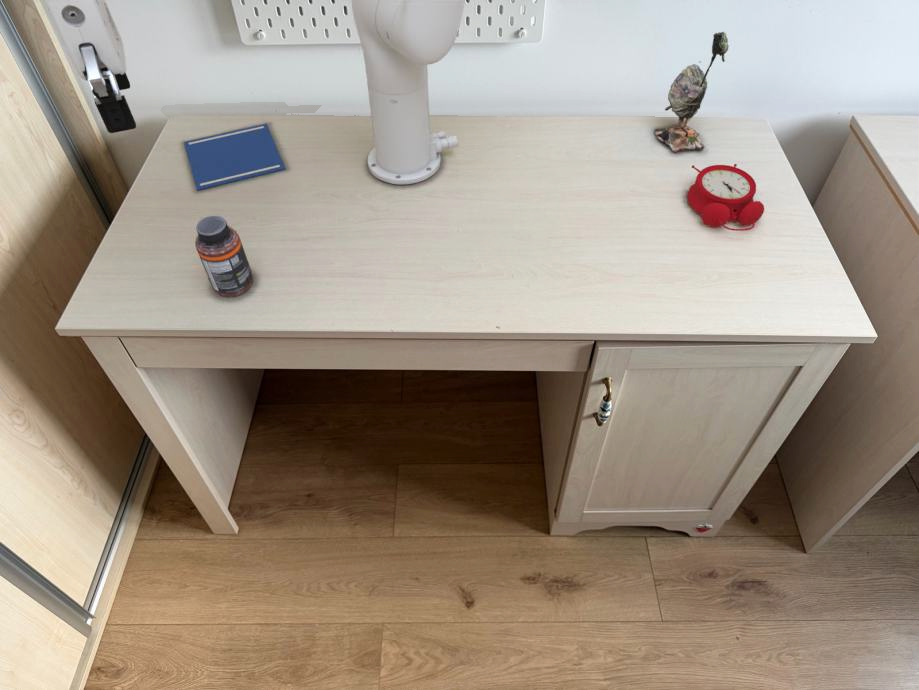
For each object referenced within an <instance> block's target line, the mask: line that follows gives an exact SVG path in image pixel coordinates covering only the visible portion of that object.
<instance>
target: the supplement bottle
mask: <svg viewBox="0 0 919 690" xmlns="http://www.w3.org/2000/svg"><path fill="white" fill-rule="evenodd" d="M195 229H196V233H197V237H196V238H195V241H194V242H195V243H194V245H195V250H196V252H197V254H198V257H199V259H200V261H201V263H202V266H203V268H204V271H205V273H206V275H207V278H208V281H209V282H210V285H211V287H212V289H213V291H214V292H215V293H217V294H218V295H220V296H222V297H226V298H227V297H229V298H231V297H238V296H240V295H242V294H244V293H246V292H247V291H248V290H249V289H250V288H251V287H252V285H253V283H254V276H253V272H252V267H251V266H250V263H249V260H248V257H247V254H246V252H245V249H244V245H243V243H242V240H241V238H240V235H239V234H238V232H237V230H235V229H234V228H233V227H231V226H229V225H228V223H227V220H226V219H225V218H224V217H222V216H220V215H209V216H206V217H204V218H201V219H200V220H199V221H198V222H197V224H196V227H195Z"/></svg>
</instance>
